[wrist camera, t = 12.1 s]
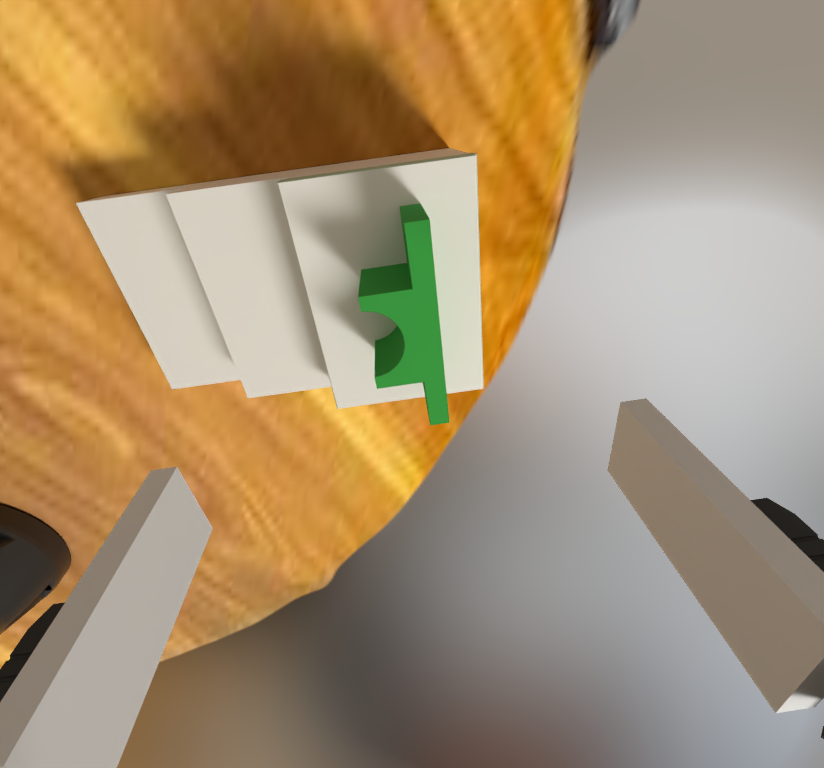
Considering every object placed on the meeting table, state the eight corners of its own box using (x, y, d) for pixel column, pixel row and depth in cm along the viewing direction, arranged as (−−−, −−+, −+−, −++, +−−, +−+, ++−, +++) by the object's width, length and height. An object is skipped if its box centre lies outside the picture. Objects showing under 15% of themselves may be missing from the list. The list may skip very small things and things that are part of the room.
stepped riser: (187, 371, 36) (135, 437, 28) (102, 195, 28) (0, 220, 20) (461, 333, 36) (483, 389, 28) (450, 146, 28) (477, 154, 20)
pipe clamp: (350, 213, 22) (343, 230, 18) (420, 202, 22) (429, 217, 18) (384, 390, 27) (385, 433, 23) (439, 382, 27) (450, 423, 23)
